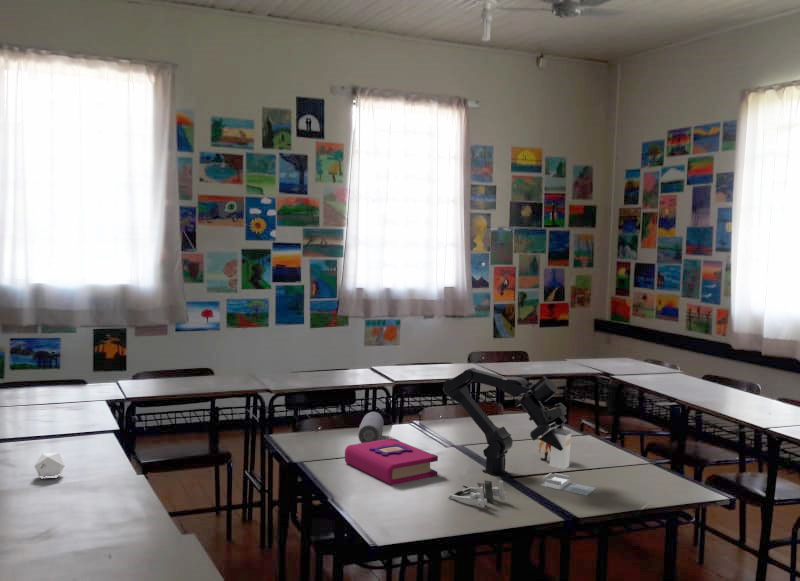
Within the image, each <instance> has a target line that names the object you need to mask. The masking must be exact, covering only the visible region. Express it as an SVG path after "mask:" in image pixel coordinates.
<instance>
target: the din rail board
mask: <svg viewBox="0 0 800 581" xmlns="http://www.w3.org/2000/svg"><path fill="white" fill-rule="evenodd" d="M570 479H571V478H570V475H566V474H561V473H556V472H555V473H552V472H550V473H548V474H546V475H545V476H543V477H542V481H543V483H541V484H540V486H541V487H546V488H550V489H555V490H559V491H560V490H561V491H564V492H569V493H574V494H579V495H583V496H585V497H586V496H588V495H589V494H591V493H592V492H594V490H596V489H597V487H593V486H589V485H588V486H587V485H582V484H578V483H573V482H571V480H570Z"/></svg>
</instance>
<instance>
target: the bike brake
mask: <svg viewBox="0 0 800 581" xmlns="http://www.w3.org/2000/svg"><path fill="white" fill-rule="evenodd" d="M492 483H493V482H492V481H491V480H487V479H486V480H484V483H482V482H477V483H476V487H472V486H470V487H469V486H468V485H462V486H463V488H464V489H461V490H460V491H458V490H457V492H455V493H449V494H448V497H447V499H449V500H456V501H465V502H472V503H478V505H479V506H480V507H481V508H485V506H487V505H486V504H487V503H490V504H493V503H494V497H499V498H500V500H501V501H505V499H506V496H507V492H506V491H504V481H503V480H499V486H493V484H492ZM468 493H470V494H469V495H470V496H468V495H467V496H466V495H465V494H468ZM463 495H465V496H463Z"/></svg>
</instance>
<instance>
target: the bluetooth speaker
mask: <svg viewBox="0 0 800 581" xmlns="http://www.w3.org/2000/svg"><path fill="white" fill-rule="evenodd" d="M384 424H385V423H384V418H383V416H382V415H381V414H380V413H379V412H376V411H370V412H367V413H366V414H365V415H364V416H363V418H362V420H361V423H360V424H359V428H358V432H357V436H358V440H359V442H360V443H366V442H372V441H378V440H381V437H382V435H383V432H384Z"/></svg>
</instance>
